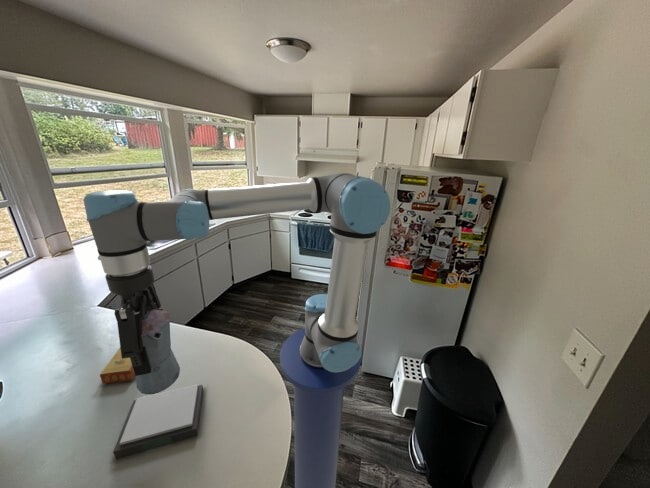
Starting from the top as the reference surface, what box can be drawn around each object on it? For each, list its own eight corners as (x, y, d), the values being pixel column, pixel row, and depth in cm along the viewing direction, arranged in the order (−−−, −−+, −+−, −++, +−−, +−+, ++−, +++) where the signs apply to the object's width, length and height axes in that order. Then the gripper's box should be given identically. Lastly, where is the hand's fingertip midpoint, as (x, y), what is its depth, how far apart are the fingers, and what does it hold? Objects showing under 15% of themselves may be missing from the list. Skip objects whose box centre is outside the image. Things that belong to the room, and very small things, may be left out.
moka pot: (153, 411, 53) (131, 336, 46) (120, 377, 61) (97, 308, 54) (195, 379, 61) (181, 310, 54) (161, 353, 68) (145, 289, 62)
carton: (102, 385, 74) (98, 374, 73) (129, 346, 89) (126, 336, 87) (133, 380, 76) (130, 370, 74) (155, 343, 91) (153, 333, 89)
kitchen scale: (203, 390, 74) (201, 382, 73) (197, 436, 62) (195, 427, 61) (135, 406, 69) (132, 398, 67) (115, 460, 57) (111, 450, 56)
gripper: (128, 249, 59) (147, 326, 67) (72, 303, 39) (110, 403, 47) (164, 247, 61) (179, 321, 69) (129, 296, 41) (156, 392, 49)
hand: (151, 354), depth 58 cm, fingers closed on moka pot, 10 cm apart
